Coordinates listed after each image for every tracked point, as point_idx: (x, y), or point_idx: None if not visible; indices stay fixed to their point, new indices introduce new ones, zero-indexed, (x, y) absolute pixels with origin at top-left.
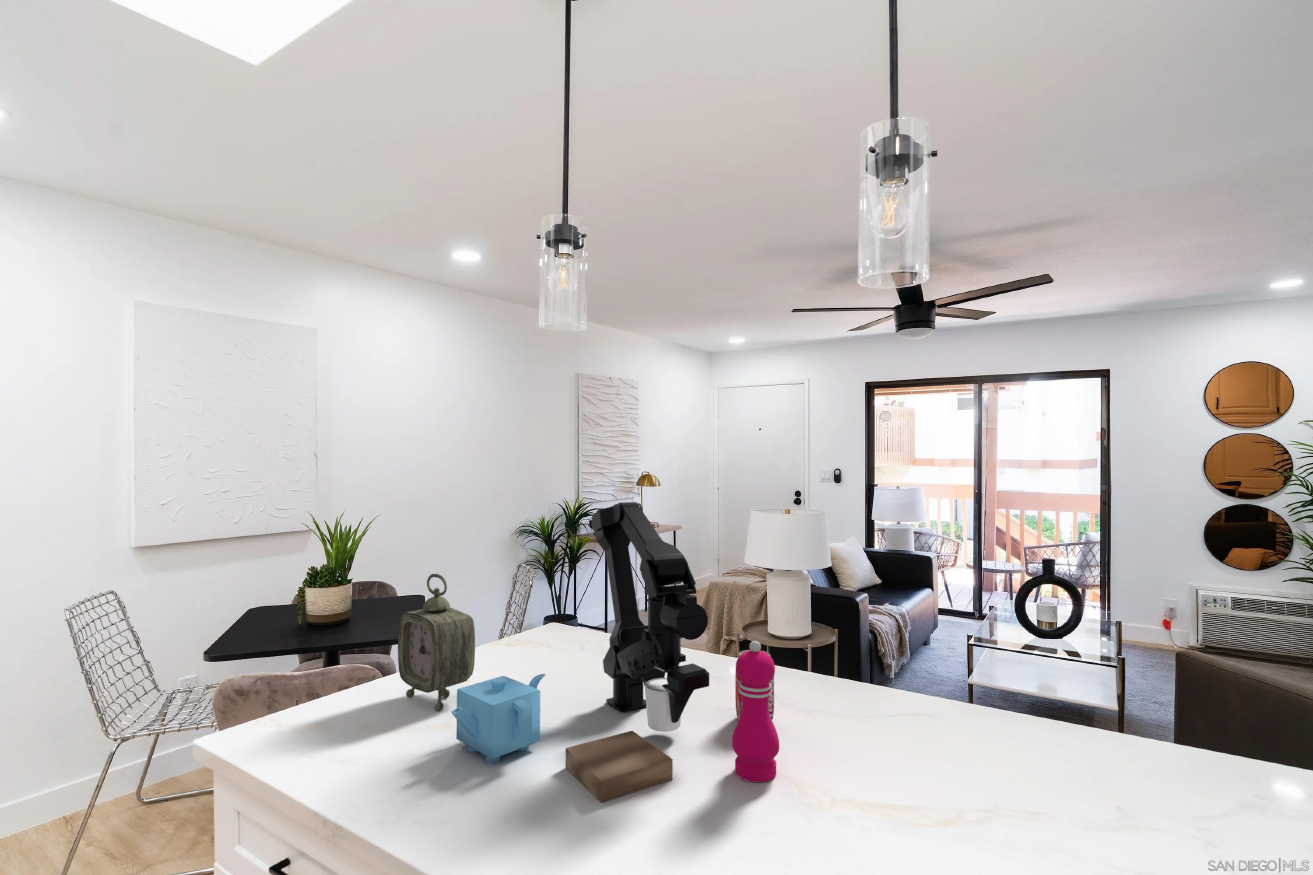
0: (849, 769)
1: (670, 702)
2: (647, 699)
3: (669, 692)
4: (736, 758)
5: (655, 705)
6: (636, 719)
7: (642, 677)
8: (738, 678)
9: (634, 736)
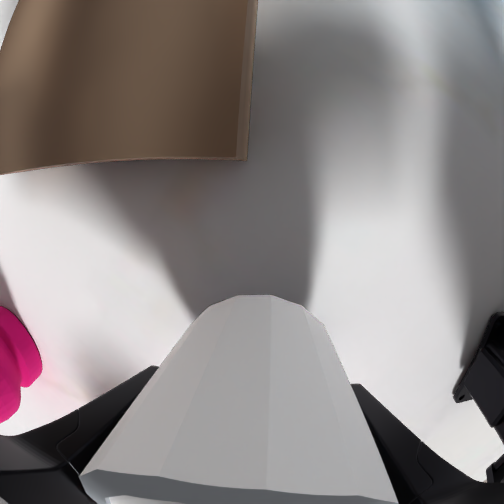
0: (23, 417)
1: (88, 424)
2: (269, 392)
3: (11, 449)
4: (6, 337)
5: (177, 378)
6: (437, 330)
7: (460, 499)
8: None
9: (159, 128)
